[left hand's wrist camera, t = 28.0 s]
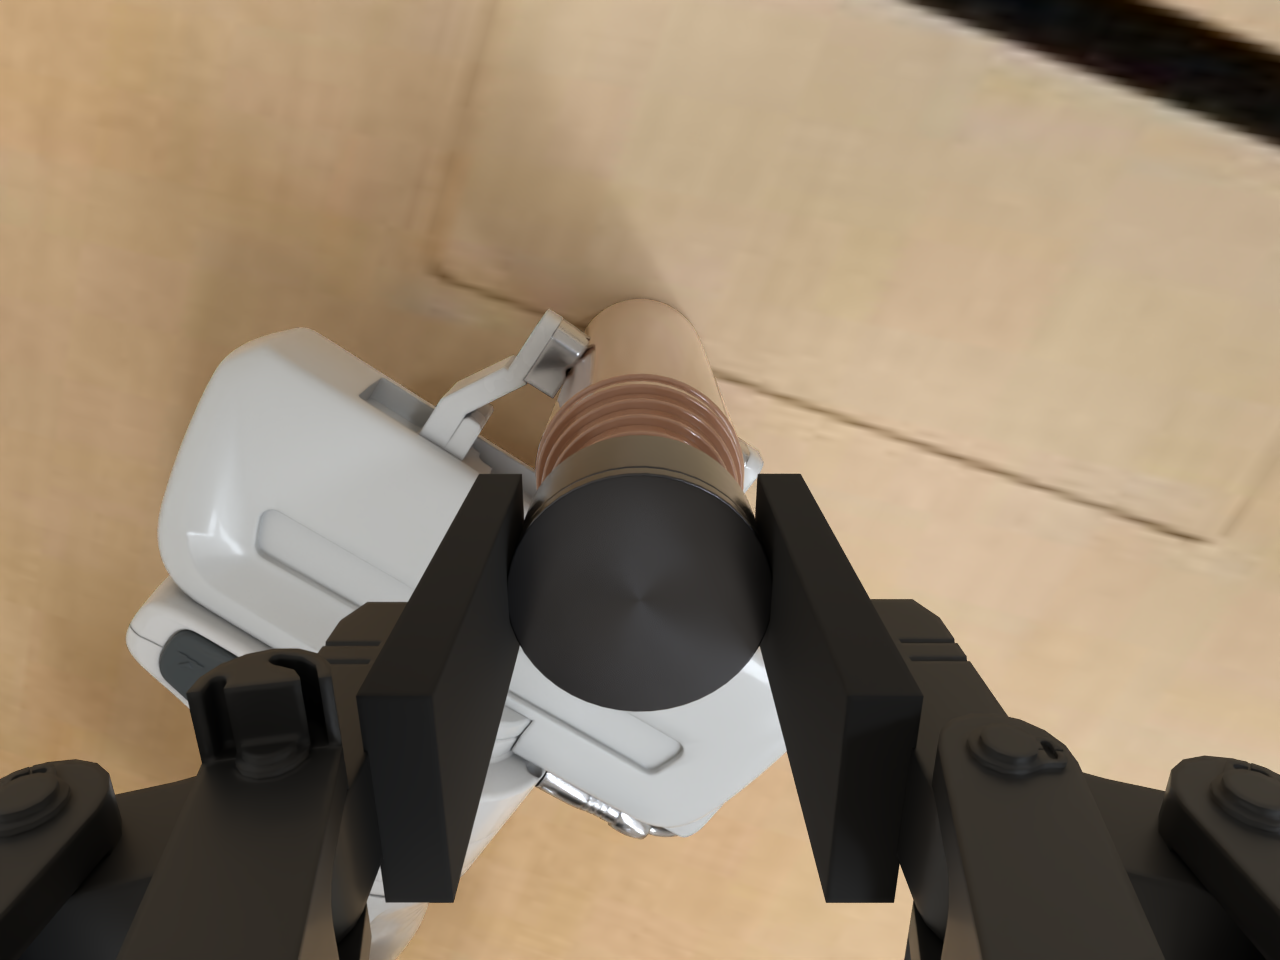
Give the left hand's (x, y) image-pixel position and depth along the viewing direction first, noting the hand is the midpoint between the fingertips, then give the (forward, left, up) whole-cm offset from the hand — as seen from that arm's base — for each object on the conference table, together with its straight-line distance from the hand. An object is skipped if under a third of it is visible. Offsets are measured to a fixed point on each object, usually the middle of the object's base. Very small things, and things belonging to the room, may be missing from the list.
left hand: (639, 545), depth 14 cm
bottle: (0, 0, -16) cm, 16 cm away
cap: (0, 0, +2) cm, 2 cm away
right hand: (-1, 0, -9) cm, 9 cm away
